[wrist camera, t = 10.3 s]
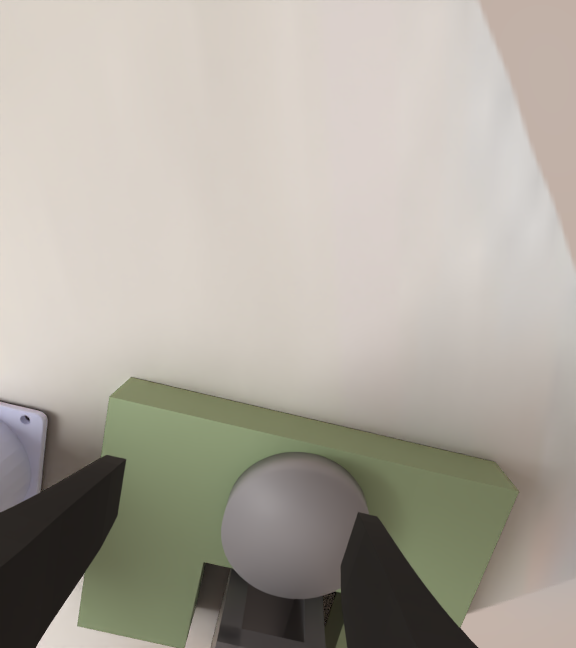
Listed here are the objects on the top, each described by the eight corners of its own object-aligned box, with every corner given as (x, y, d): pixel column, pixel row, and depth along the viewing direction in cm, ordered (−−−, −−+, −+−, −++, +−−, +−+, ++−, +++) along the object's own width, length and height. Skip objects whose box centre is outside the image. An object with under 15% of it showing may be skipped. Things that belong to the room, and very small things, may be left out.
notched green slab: (99, 586, 25) (61, 653, 21) (131, 377, 21) (93, 410, 18) (415, 656, 25) (436, 735, 21) (494, 462, 22) (536, 513, 18)
